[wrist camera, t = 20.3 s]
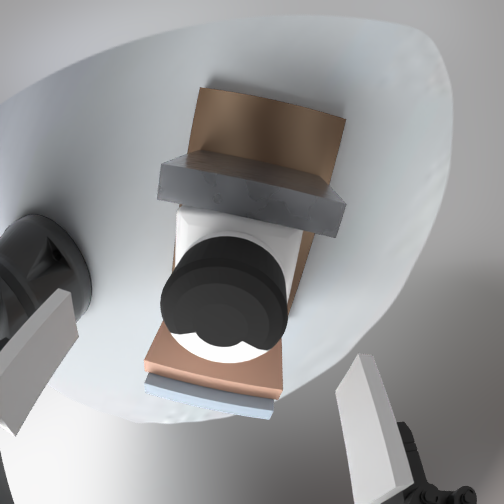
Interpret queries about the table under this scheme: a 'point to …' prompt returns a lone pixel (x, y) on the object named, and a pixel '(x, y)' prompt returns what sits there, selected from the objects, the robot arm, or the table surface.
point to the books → (213, 378)
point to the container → (229, 284)
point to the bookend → (252, 191)
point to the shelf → (268, 140)
